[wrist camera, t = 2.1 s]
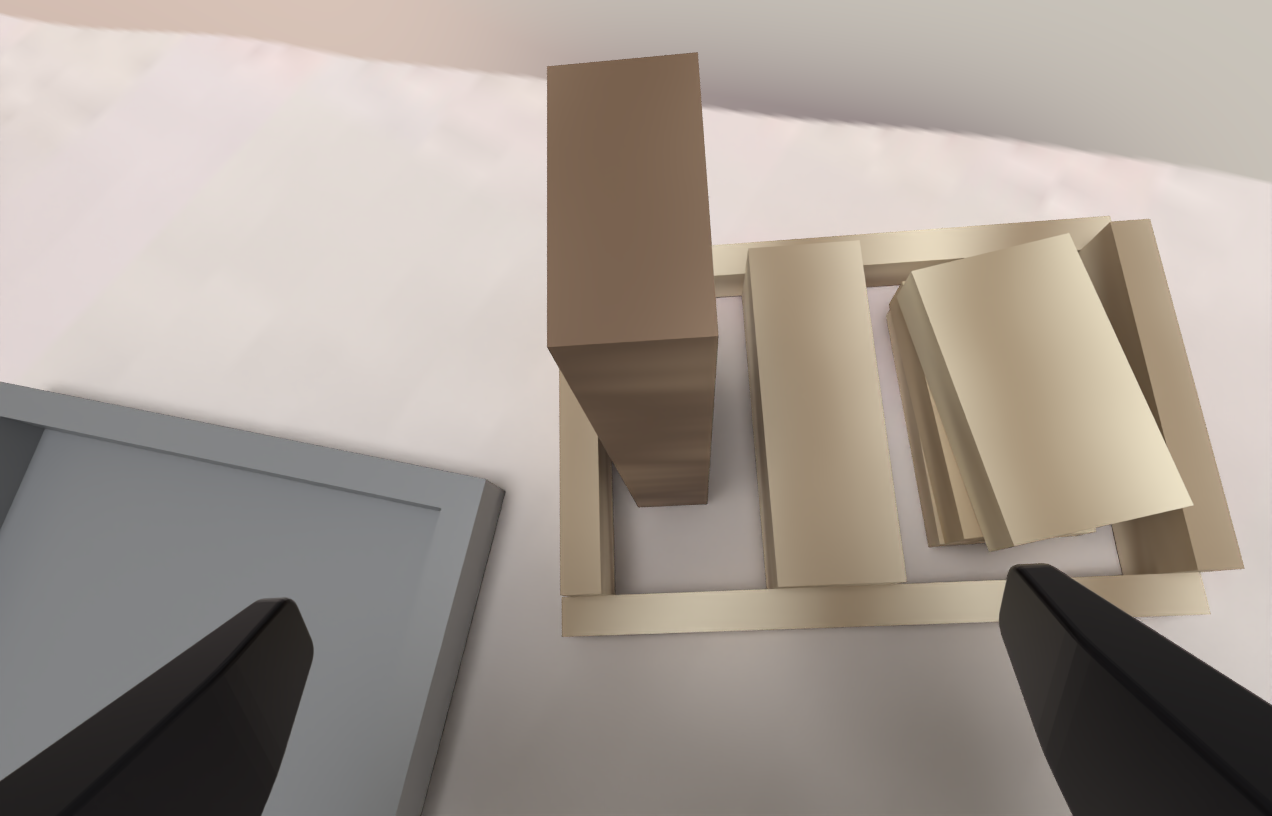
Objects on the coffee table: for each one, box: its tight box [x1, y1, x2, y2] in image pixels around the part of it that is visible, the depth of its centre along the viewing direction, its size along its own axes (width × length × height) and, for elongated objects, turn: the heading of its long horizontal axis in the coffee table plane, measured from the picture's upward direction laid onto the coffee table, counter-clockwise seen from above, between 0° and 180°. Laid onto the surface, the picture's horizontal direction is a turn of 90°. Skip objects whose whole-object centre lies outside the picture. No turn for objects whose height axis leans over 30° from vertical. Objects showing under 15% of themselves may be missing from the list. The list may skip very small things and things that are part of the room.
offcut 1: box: [889, 281, 984, 545], centre depth 19 cm, size 4×7×2 cm, turn 7°
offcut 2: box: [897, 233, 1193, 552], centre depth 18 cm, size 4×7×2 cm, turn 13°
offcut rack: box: [559, 216, 1245, 637], centre depth 19 cm, size 16×11×3 cm
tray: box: [0, 382, 505, 816], centre depth 19 cm, size 16×16×2 cm
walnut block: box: [547, 52, 718, 507], centre depth 15 cm, size 2×4×13 cm, turn 2°
